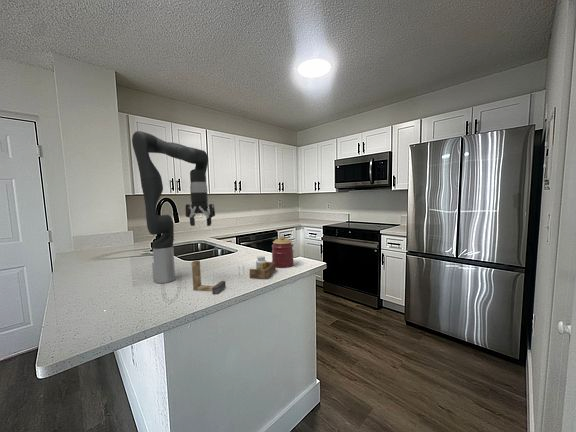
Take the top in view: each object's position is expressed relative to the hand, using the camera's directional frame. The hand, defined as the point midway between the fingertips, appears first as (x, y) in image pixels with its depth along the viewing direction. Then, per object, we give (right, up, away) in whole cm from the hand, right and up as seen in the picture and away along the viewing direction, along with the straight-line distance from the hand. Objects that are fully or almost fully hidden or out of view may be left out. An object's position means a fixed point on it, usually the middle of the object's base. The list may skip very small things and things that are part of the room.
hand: (200, 225), depth 118 cm
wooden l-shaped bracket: (+6, -29, -7) cm, 30 cm away
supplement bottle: (+28, -27, +13) cm, 41 cm away
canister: (+39, -25, +29) cm, 55 cm away
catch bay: (+29, -26, +13) cm, 41 cm away
